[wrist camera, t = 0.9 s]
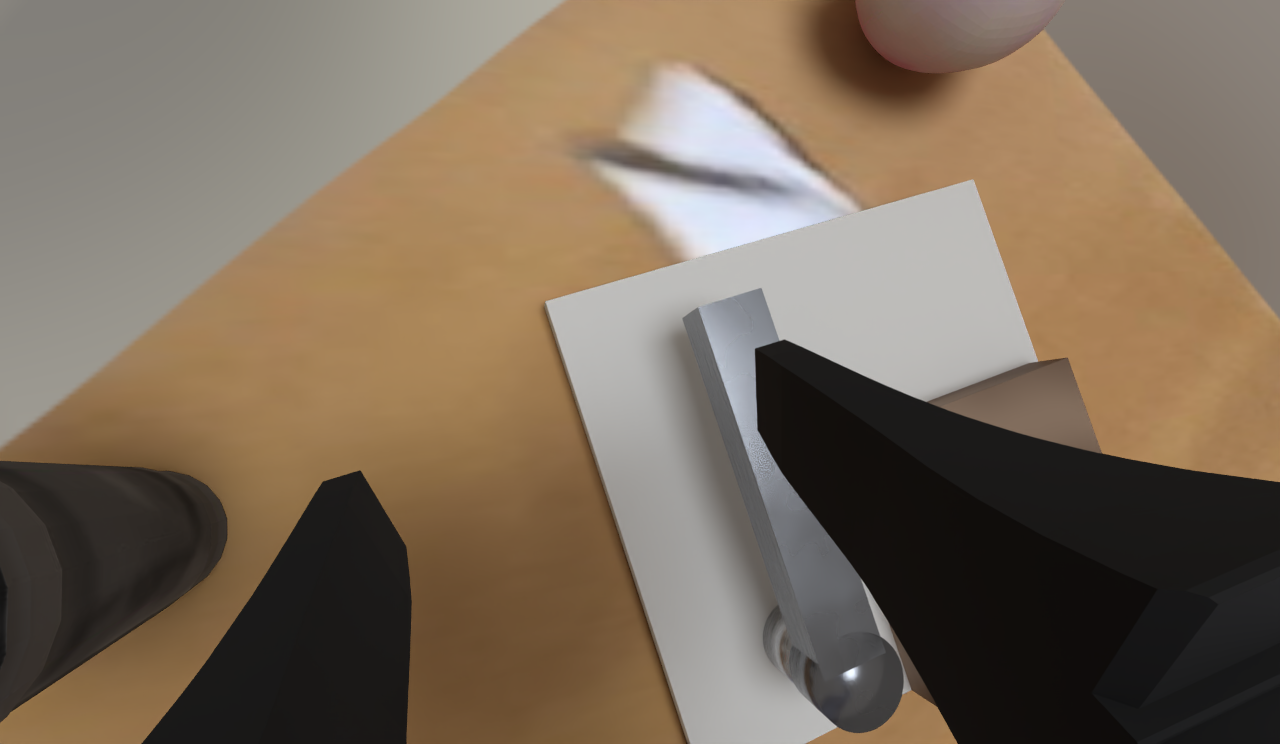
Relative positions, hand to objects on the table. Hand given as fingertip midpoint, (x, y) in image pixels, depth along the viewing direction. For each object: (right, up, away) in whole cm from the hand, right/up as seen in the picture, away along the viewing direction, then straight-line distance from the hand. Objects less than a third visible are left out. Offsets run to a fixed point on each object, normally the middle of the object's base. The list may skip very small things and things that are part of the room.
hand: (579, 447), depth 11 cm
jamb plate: (+10, -2, +16) cm, 19 cm away
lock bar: (+6, -3, +11) cm, 13 cm away
